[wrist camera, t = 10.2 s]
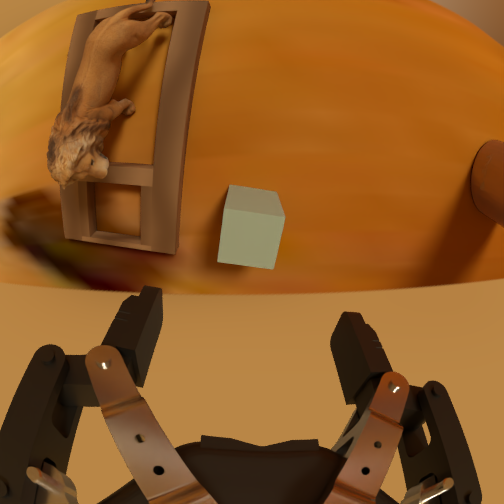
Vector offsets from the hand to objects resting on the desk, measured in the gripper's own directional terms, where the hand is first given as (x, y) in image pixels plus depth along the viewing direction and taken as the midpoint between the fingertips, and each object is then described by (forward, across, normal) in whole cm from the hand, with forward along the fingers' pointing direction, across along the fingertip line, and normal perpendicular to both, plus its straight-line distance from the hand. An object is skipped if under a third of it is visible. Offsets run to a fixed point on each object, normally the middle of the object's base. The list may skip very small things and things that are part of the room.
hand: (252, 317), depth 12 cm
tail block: (+14, 0, 0) cm, 14 cm away
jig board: (+14, +12, -6) cm, 19 cm away
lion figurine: (+13, +12, -10) cm, 20 cm away
